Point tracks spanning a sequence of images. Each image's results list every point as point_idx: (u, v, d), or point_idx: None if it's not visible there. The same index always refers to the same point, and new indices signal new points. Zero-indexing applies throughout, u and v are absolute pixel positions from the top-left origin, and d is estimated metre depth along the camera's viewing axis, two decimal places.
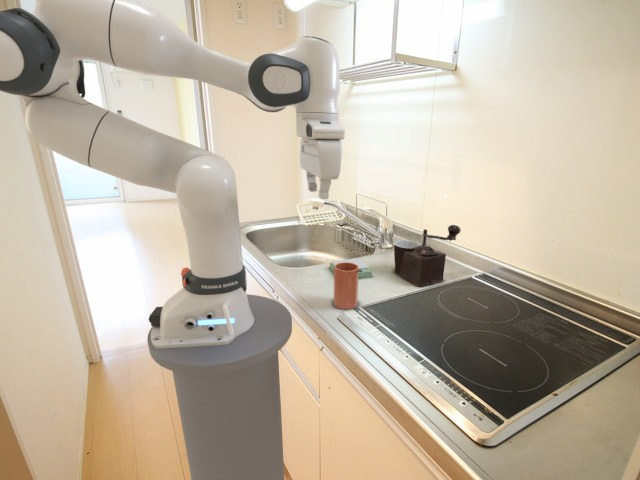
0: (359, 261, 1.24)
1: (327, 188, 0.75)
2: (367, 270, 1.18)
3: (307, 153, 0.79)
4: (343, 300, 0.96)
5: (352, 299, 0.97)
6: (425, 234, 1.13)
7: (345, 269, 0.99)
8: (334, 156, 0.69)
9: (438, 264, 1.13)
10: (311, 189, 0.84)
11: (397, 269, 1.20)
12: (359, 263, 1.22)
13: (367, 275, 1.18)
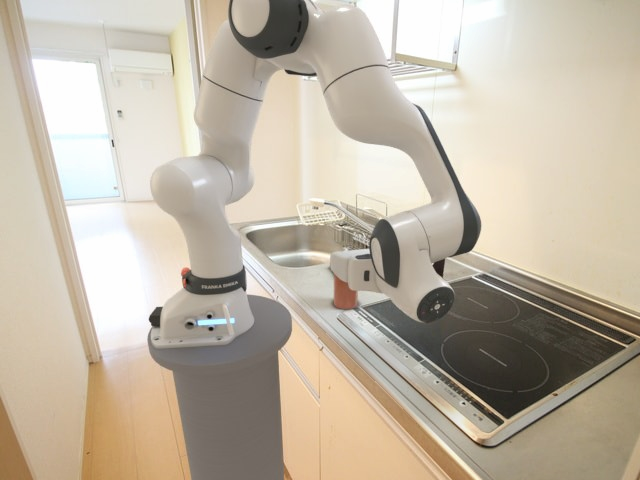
0: None
1: None
2: None
3: None
4: (343, 300, 0.96)
5: (352, 299, 0.97)
6: None
7: None
8: (336, 270, 0.72)
9: (438, 264, 1.13)
10: None
11: None
12: None
13: None
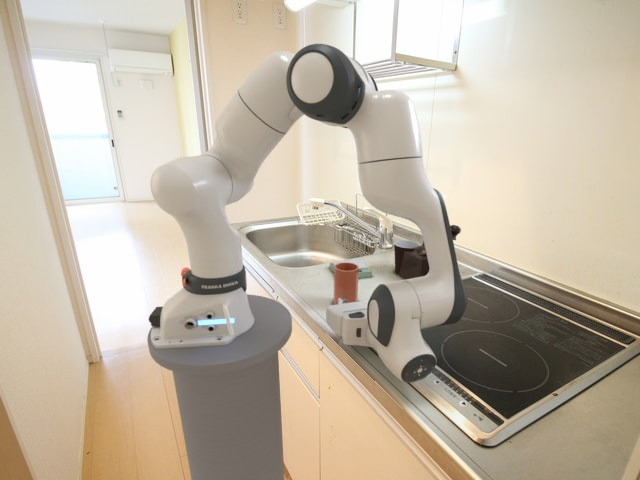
0: (359, 261, 1.24)
1: None
2: (367, 270, 1.18)
3: None
4: None
5: (352, 299, 0.97)
6: None
7: (345, 269, 0.99)
8: (331, 324, 0.78)
9: None
10: None
11: (397, 269, 1.20)
12: (359, 263, 1.22)
13: (367, 275, 1.18)
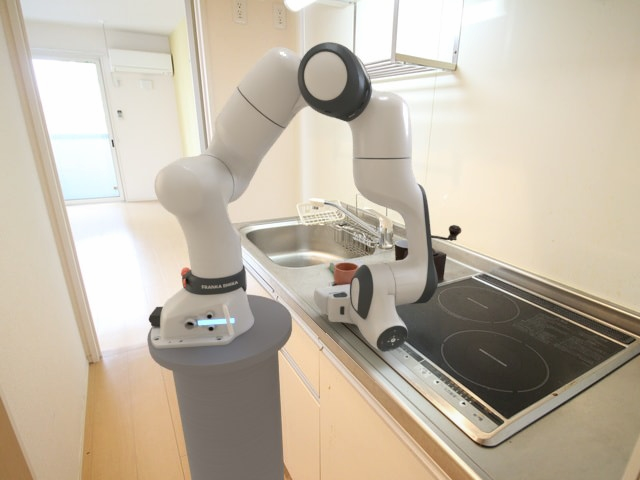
0: (359, 261, 1.24)
1: None
2: None
3: None
4: None
5: None
6: None
7: (345, 269, 0.99)
8: (319, 304, 0.88)
9: (439, 264, 1.13)
10: None
11: None
12: (359, 263, 1.22)
13: None
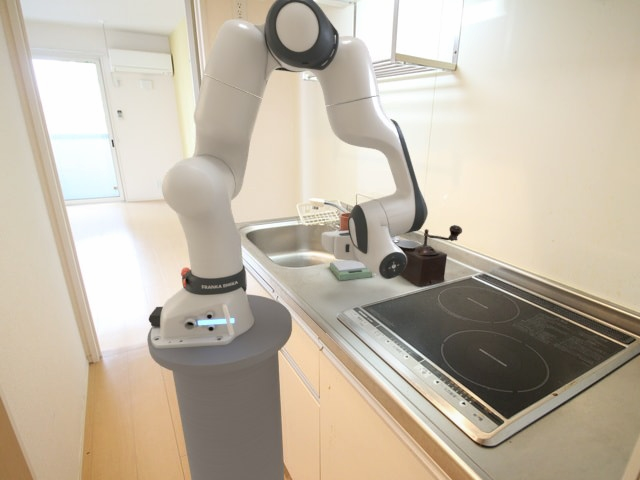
0: None
1: None
2: (367, 270, 1.18)
3: None
4: None
5: None
6: (426, 234, 1.13)
7: None
8: (326, 245, 0.96)
9: (439, 264, 1.13)
10: None
11: None
12: (359, 263, 1.22)
13: (367, 275, 1.18)
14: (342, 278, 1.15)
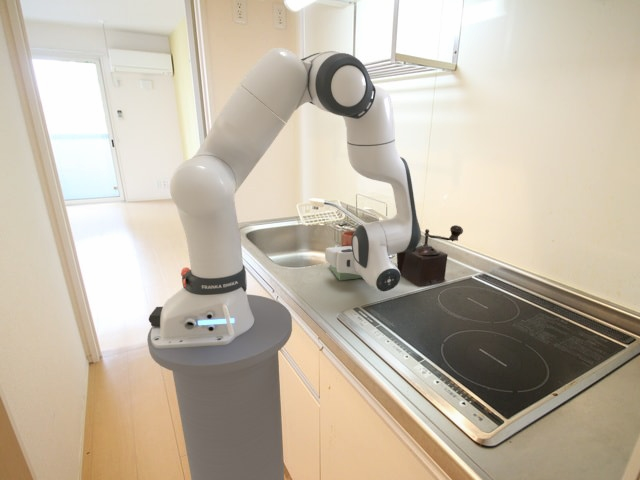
0: None
1: None
2: None
3: None
4: None
5: None
6: (427, 234, 1.13)
7: None
8: (329, 259, 1.08)
9: (439, 264, 1.13)
10: None
11: (399, 269, 1.20)
12: None
13: None
14: (342, 278, 1.15)
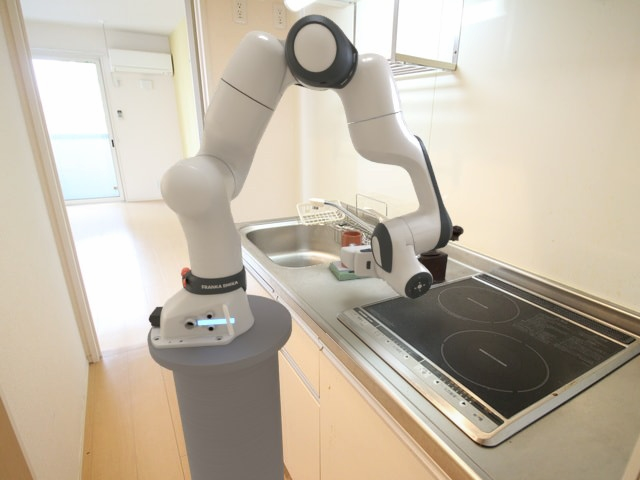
0: None
1: None
2: None
3: None
4: None
5: None
6: None
7: None
8: (345, 261, 0.93)
9: (440, 264, 1.13)
10: None
11: None
12: None
13: None
14: (342, 278, 1.15)
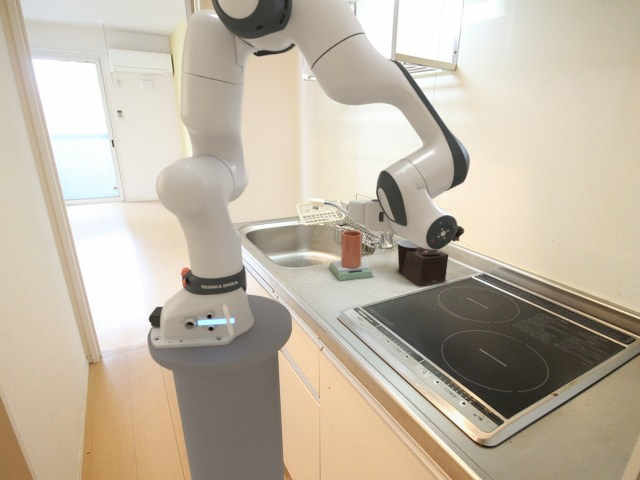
0: None
1: None
2: (367, 270, 1.18)
3: None
4: (349, 261, 1.17)
5: (356, 260, 1.17)
6: None
7: None
8: (354, 214, 0.82)
9: (440, 264, 1.13)
10: None
11: (400, 268, 1.21)
12: None
13: (367, 275, 1.18)
14: (342, 278, 1.15)
